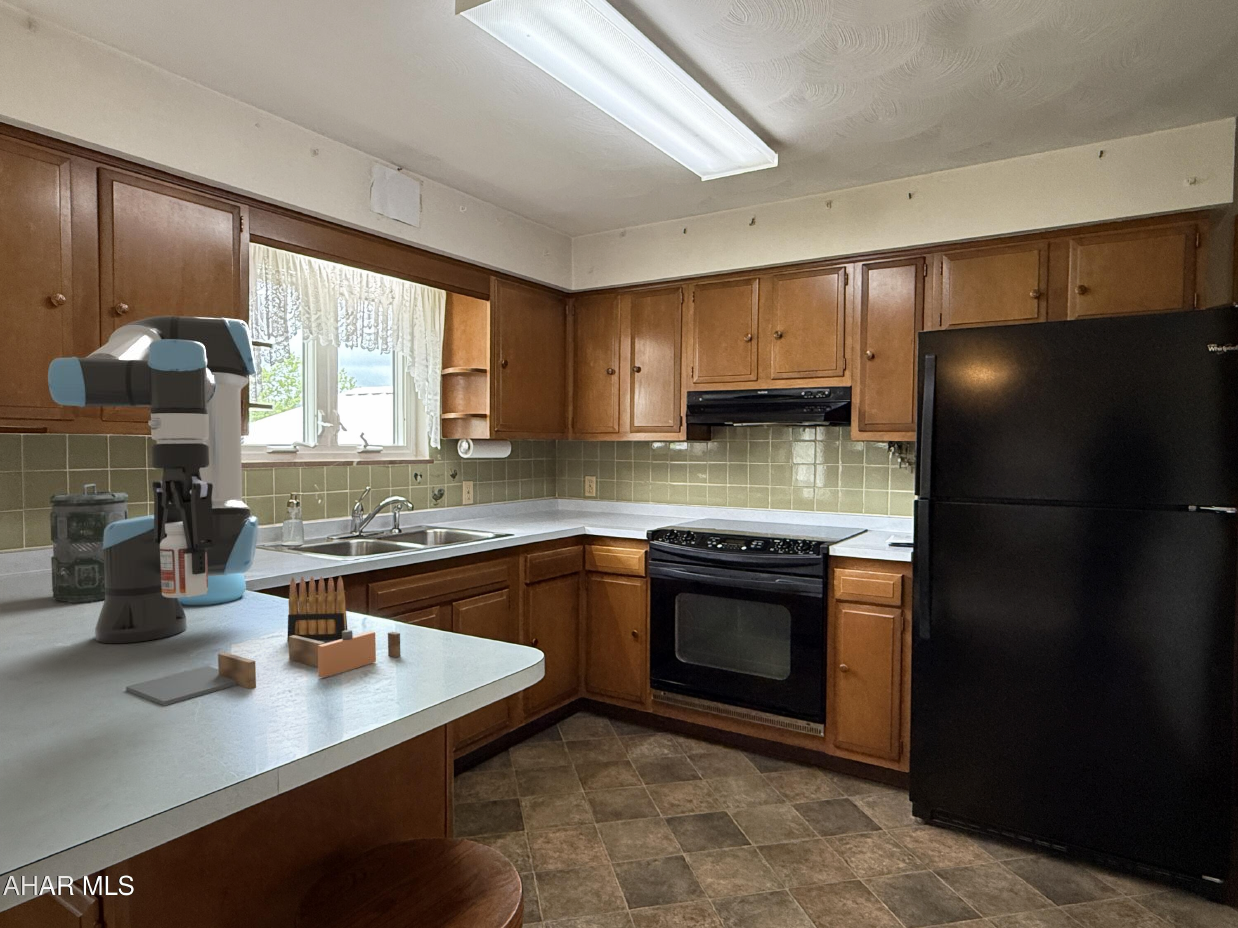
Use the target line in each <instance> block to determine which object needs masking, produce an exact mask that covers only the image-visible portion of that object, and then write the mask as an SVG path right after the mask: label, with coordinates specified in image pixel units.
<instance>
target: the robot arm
mask: <svg viewBox="0 0 1238 928" xmlns="http://www.w3.org/2000/svg"><path fill="white" fill-rule="evenodd" d="M250 333H251V332H250V330H249V326H248V324H247V323H246V322H245V321H244V320H242V319H235V318H225V317H220V318H219V317H204V316H203V317H201V316H200V317H199V316H178V315H177V316H175V315H158V316H156V315H155V316H151V317H150V316H149V317H146V318H143V319H138V320H135V321H132V322H129V323H127V324H124V325H122V326H120V327H118V328H116V329H115V331H113V332H112V334H111V335H110V337H109V338H108V342H106V343H105V344H104V345H102V346H101V347H99V348H98V349H96V350H95V351H93V352H91V354H89V355H88V356H85V357H76V356H71V357H57V358H54V359H53V360H52V361H51V362H50V364H49V367H48V373H47V383H48V389H49V393H50V396H51V398H52V400H53V401H54V402H55V403H57V404H58V405H60V406H70V407H71V406H75V407H80V408H85V407H150V419H149V420H148V423H147V424H148V426H149V427H151V429H150V430H151V431H150V433H151V439H152V441H156V443H155V444H152V446H151V448H150V449H151V466H152V468H154V469H156V470H157V469H158V470H163V473H162V477H161V480H159V481H153V482H152V485H151V487H152V492H153V514H151V515H144V516H139V517H132V518H129V519H126V520H121V521H117V522H113V523H111V524H109V525H108V526H107V527H106V528H105V530H104V543H103V547H102V549H103V551H104V577H105V599H104V602H103V604H102V607H101V610H100V613H99V616H98V619H97V622H96V624H95V625H96V626H95V628H94V629H95V630H94V632H95V633H94V634H95V635H94V636H95V641H97V642H99V643H102V644H104V643H105V644H127V643H128V644H129V643H138V642H146V641H151V640H152V641H153V640H156V639H157V640H158V639H163V638H167V637H170V636H174V635H176V634H180V633H181V632H184V631H186V630H187V628H188V626H187V624H188V623H187V615H186V614H185V610H184V608H183V606H182V603H181V602H180V601H179V599H178V598H168V597H164V596H163V595H162V586H161V561H160V543H161V541H162V540H163V539H164V538H166V537H167V534H166V533H165V524H166V523H171V522H181V521H182V522H183V527H184V532H185V538H186V543H187V548H188V549H186V550H184V551H183V553H184V555H185V588H186V597H192V596H198V595H203V594H207V581H206V551H207V569H208V576H216V575H225V576H227V575H228V574H237V573H242V574H243V573H246V572H248V571H249V570H251V568H252V566H253V563H254V559H255V553H256V548H257V541H258V528H259V518H258V517H256V516H255V515H251V507H249V506H248V504H246V503H245V502H244V501H243V485H242V484H243V483H242V482H243V477H242V476H243V475H242V471H243V470H242V407H241V406H242V405H241V402H242V400H241V392H242V389H243V388H244V387H246V386H247V385H248V384H249V376H252V375H255V374H256V372H257V369H256V362H255V355H254V349H253V343H252V338H251V334H250Z"/></svg>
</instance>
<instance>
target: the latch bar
mask: <svg viewBox="0 0 1238 928" xmlns="http://www.w3.org/2000/svg"><path fill="white" fill-rule="evenodd" d="M376 643H377V641H376V632H375V631H366V632H363V633H360V634H359V633H358V634H355V635H354V634H353V630H351V629H347V630H345V631H342V639H340V640H331V641H328V642H325V644H321V645H318V667H317V670H318V674H317V675H318V676H317V677H318V678H322V679H324V678H325V679H326V678H327V677H331V676H333V675H337V674H341V673H344V672H347V671H350V670H353V669H357V668H360V667H363V666H367V665H370V664H374V663H376V662H377V656H376V655H377V652H376V651H377V650H376V648H377V647H376V645H377V644H376Z"/></svg>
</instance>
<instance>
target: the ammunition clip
mask: <svg viewBox="0 0 1238 928" xmlns="http://www.w3.org/2000/svg"><path fill="white" fill-rule="evenodd" d="M343 581H344V580H343V578H342V576H341V575H340V576H338V580H337V583H336V592H335V583H334V579H333V577H332V576H329V578H328V582H327V596H326V586H325V581H324V578H323V577H322V576H320V578H319V581H318V586H317V587H318V588H317V587H316V582H315V579H314V577H313V576H310V579H309V583H308V597H307V585H306V584H307V583H306V582H305V579H304V577H303V576H302V577H301V578H300V582H299V586H298V592H297V584H296V580H295V578H294V577H293V576H292V577H291V579H290V582H289V583H290V584H289V594H288V595H289V597H288V615H287V642H288V643H289V636H292V635H296V636H300V637H304V638H308V639H313V640H317V641H321V642H324V641H325V642H326V641H336V640H340V639H342V631H345V630H348V620H347V617H348V616H347V611H346V597H345V589H344V582H343ZM316 589H317V591H318V592H317V591H316Z"/></svg>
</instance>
